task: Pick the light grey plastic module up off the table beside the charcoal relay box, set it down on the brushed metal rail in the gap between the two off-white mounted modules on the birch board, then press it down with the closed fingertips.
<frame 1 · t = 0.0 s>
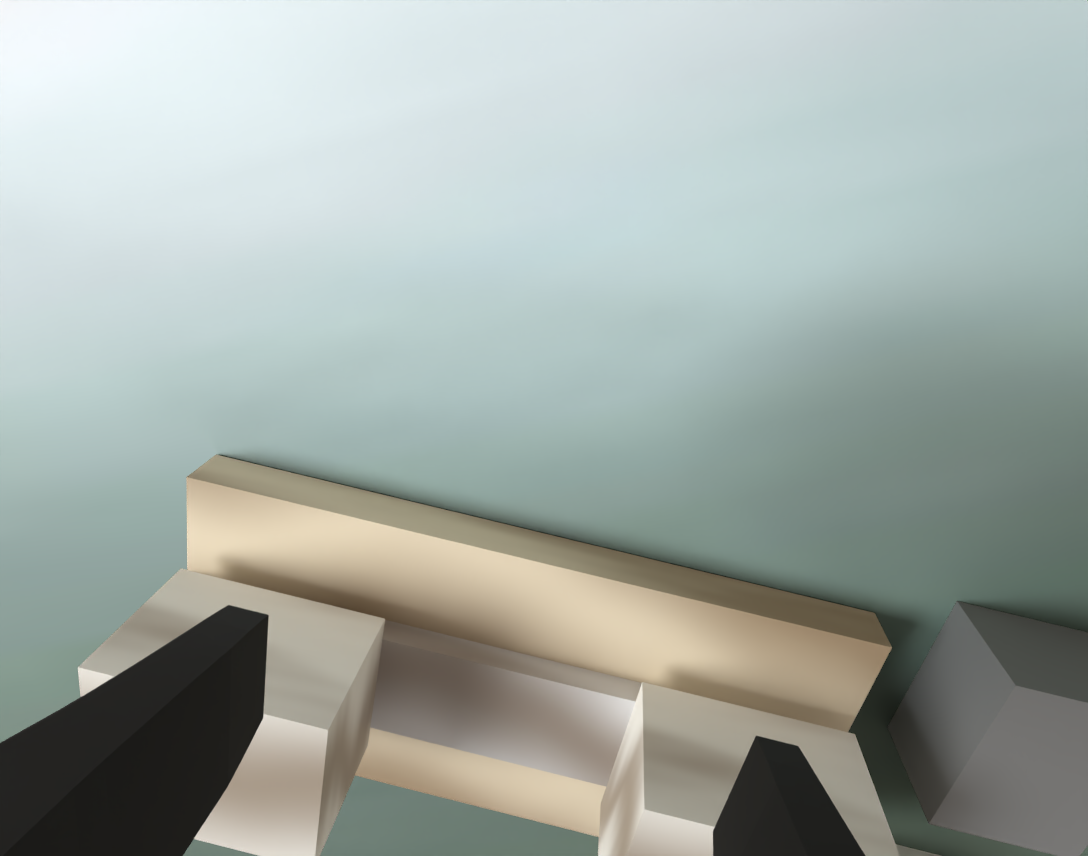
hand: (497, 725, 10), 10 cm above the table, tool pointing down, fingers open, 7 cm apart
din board: (510, 661, 23), on the table
relay box: (984, 679, 21), on the table
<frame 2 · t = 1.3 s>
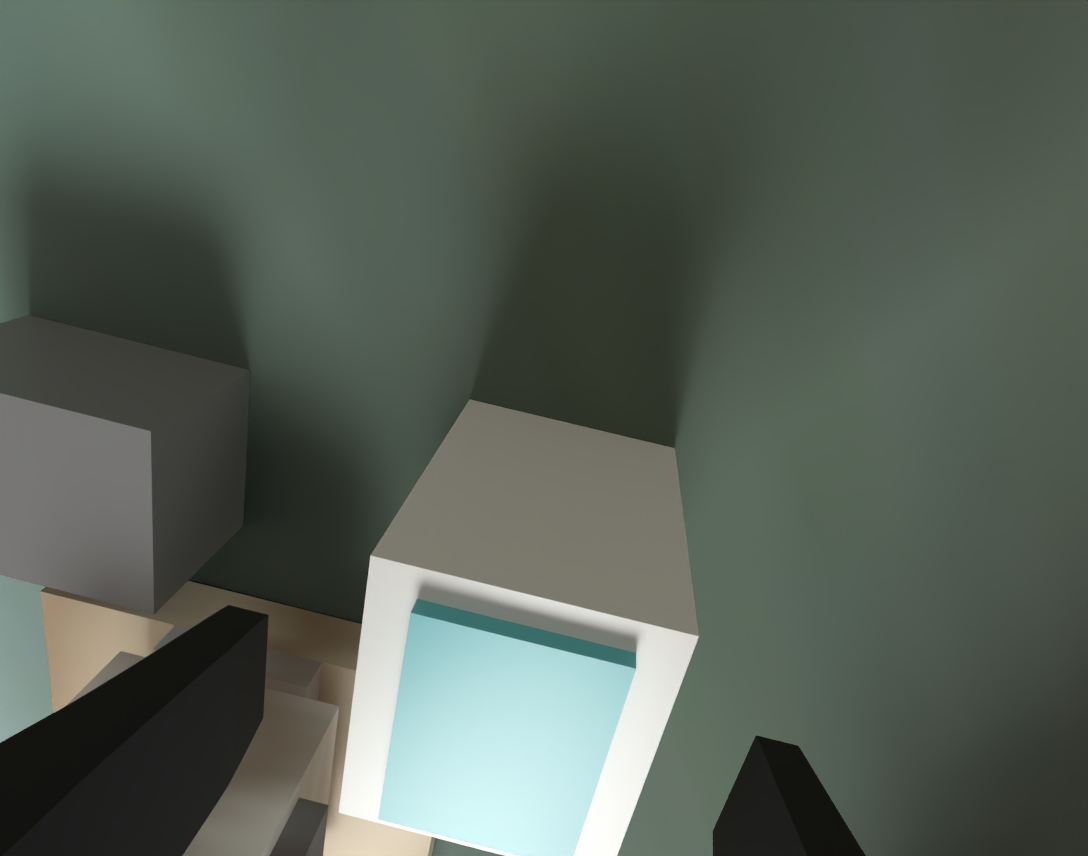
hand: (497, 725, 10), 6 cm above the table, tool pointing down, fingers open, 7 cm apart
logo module: (547, 523, 16), on the table
relay box: (145, 422, 16), on the table
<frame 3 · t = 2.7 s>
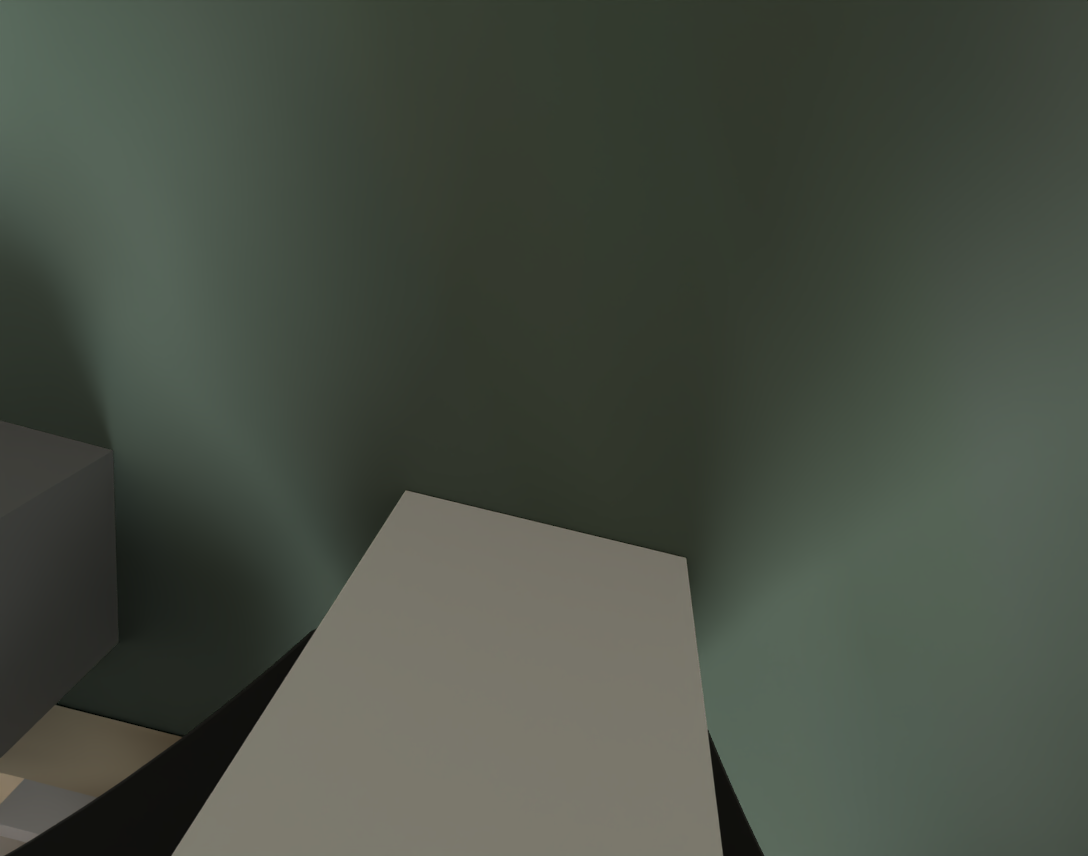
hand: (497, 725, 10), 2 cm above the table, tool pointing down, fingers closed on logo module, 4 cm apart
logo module: (514, 649, 12), on the table, touching gripper
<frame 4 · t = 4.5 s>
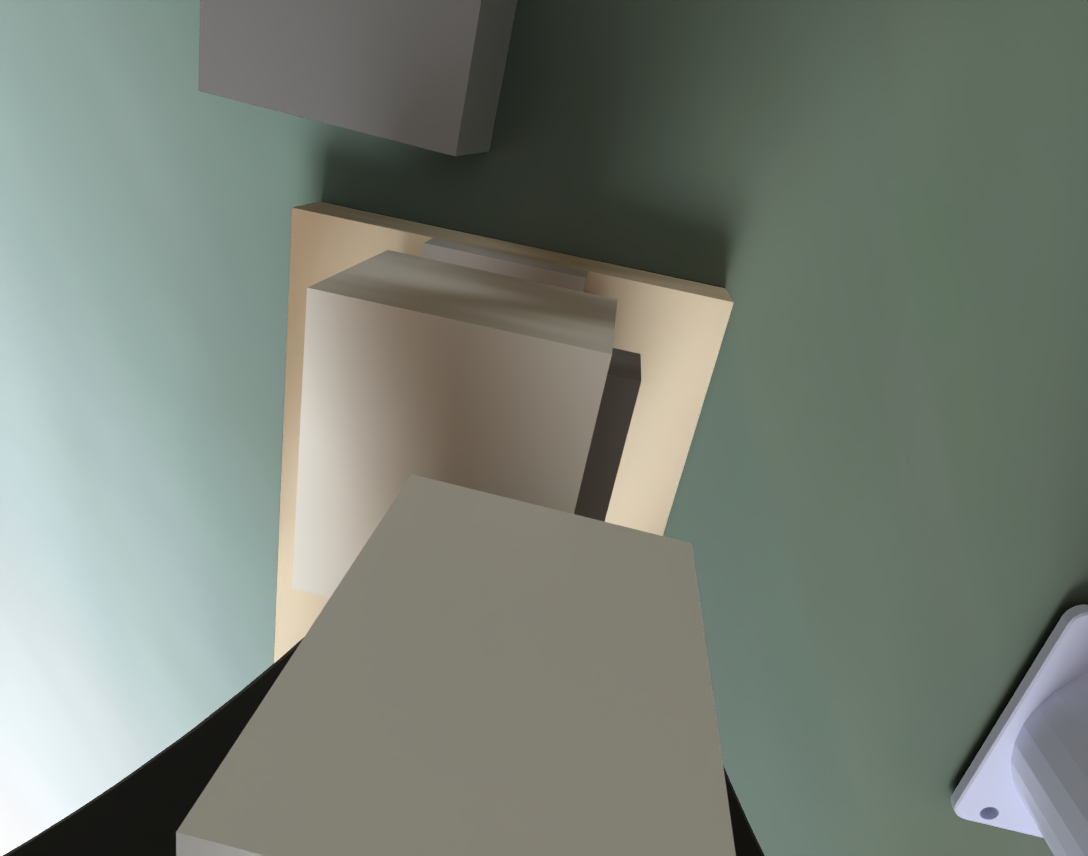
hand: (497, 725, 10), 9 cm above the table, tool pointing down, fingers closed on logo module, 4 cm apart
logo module: (519, 635, 12), point 8 cm above the table, touching gripper
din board: (462, 581, 21), on the table
relay box: (399, 29, 15), on the table
when the fingers open (5 cm above the table, at t = 6.6 s): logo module stays where it is, resting on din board.
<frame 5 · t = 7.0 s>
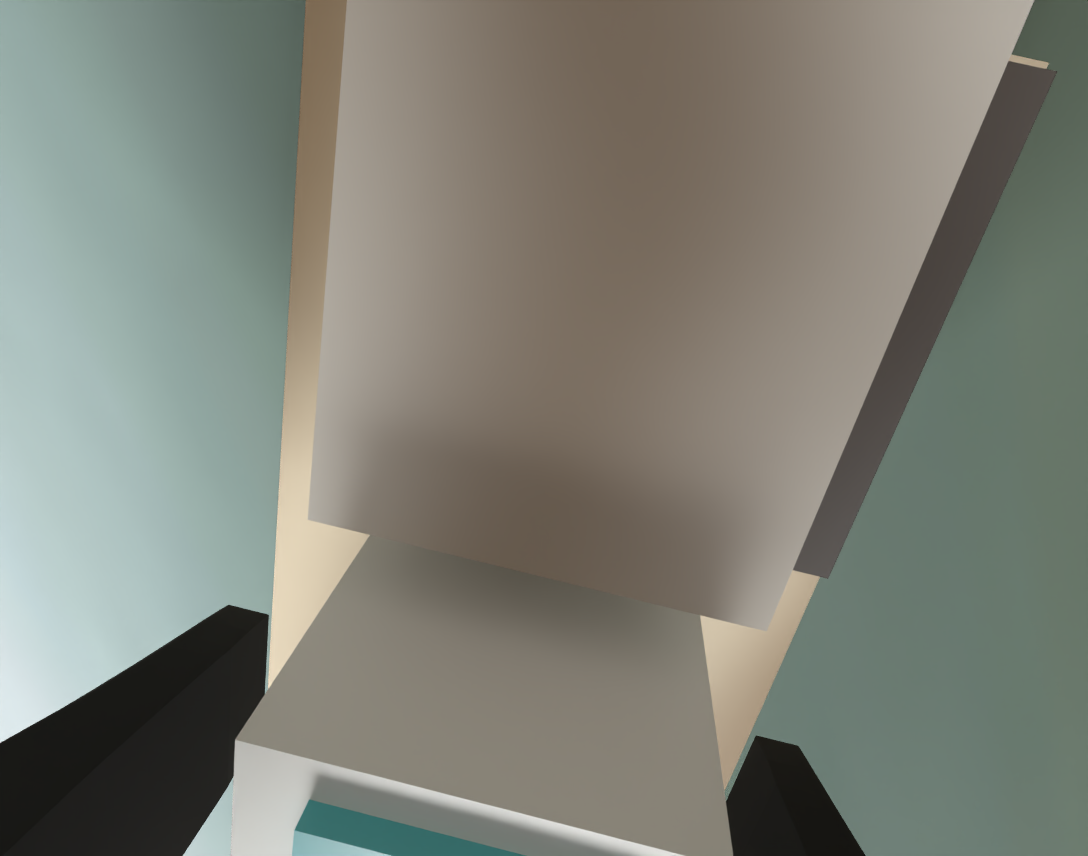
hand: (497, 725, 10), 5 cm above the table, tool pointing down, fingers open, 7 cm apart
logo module: (525, 602, 12), point 2 cm above the table, touching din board
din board: (539, 543, 15), on the table
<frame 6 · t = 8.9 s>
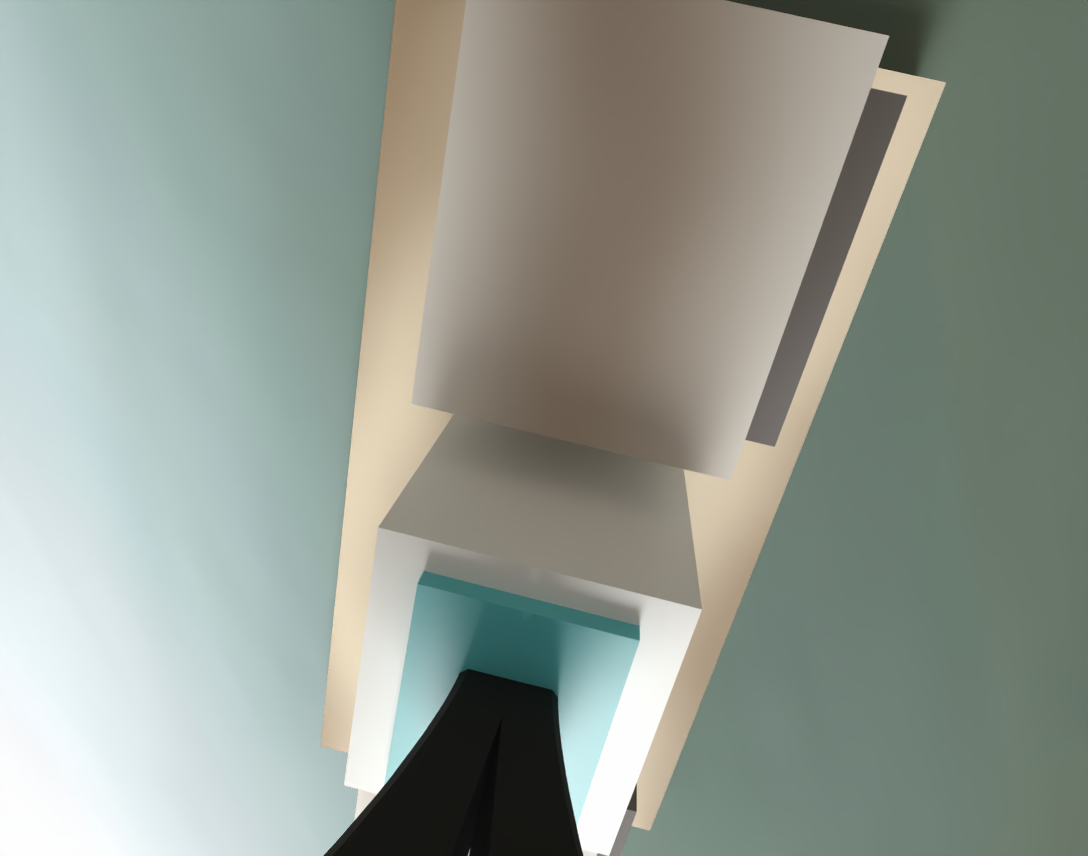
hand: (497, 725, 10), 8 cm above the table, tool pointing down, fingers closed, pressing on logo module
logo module: (551, 506, 16), point 2 cm above the table, touching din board, gripper
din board: (560, 470, 18), on the table
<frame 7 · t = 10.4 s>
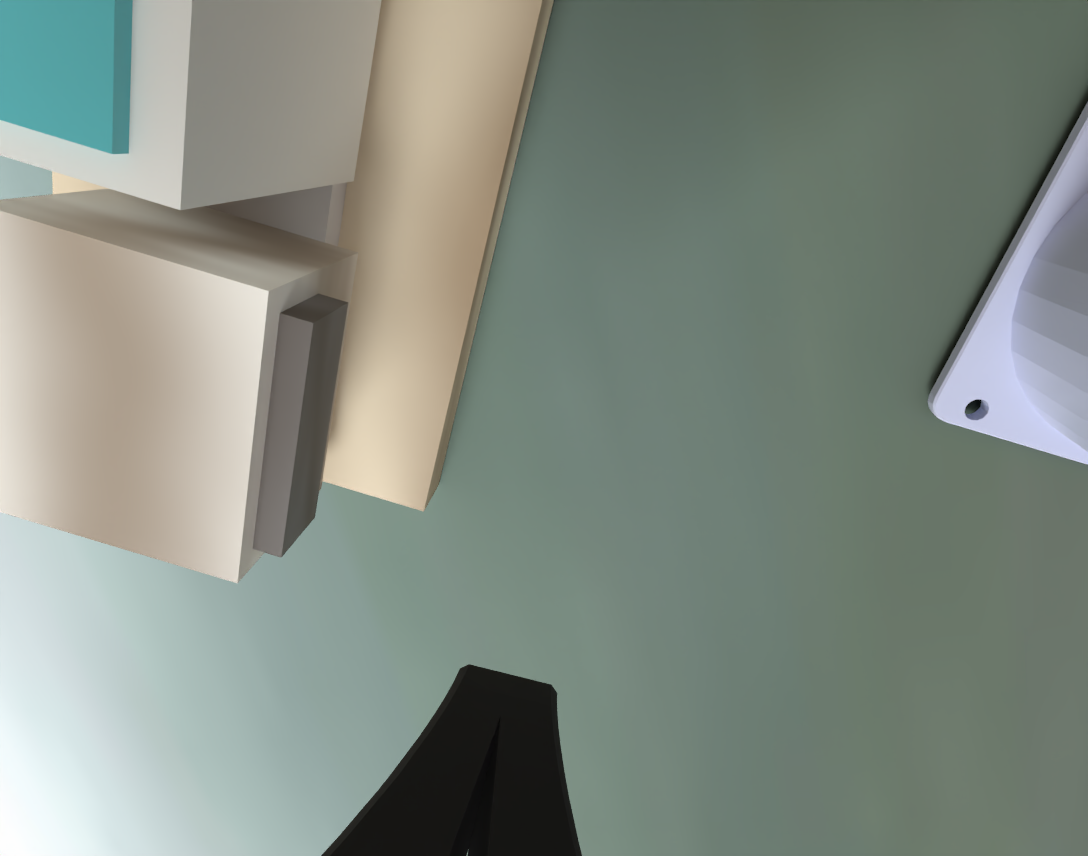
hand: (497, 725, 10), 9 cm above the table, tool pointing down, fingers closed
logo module: (264, 14, 13), point 2 cm above the table, touching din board
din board: (313, 42, 16), on the table
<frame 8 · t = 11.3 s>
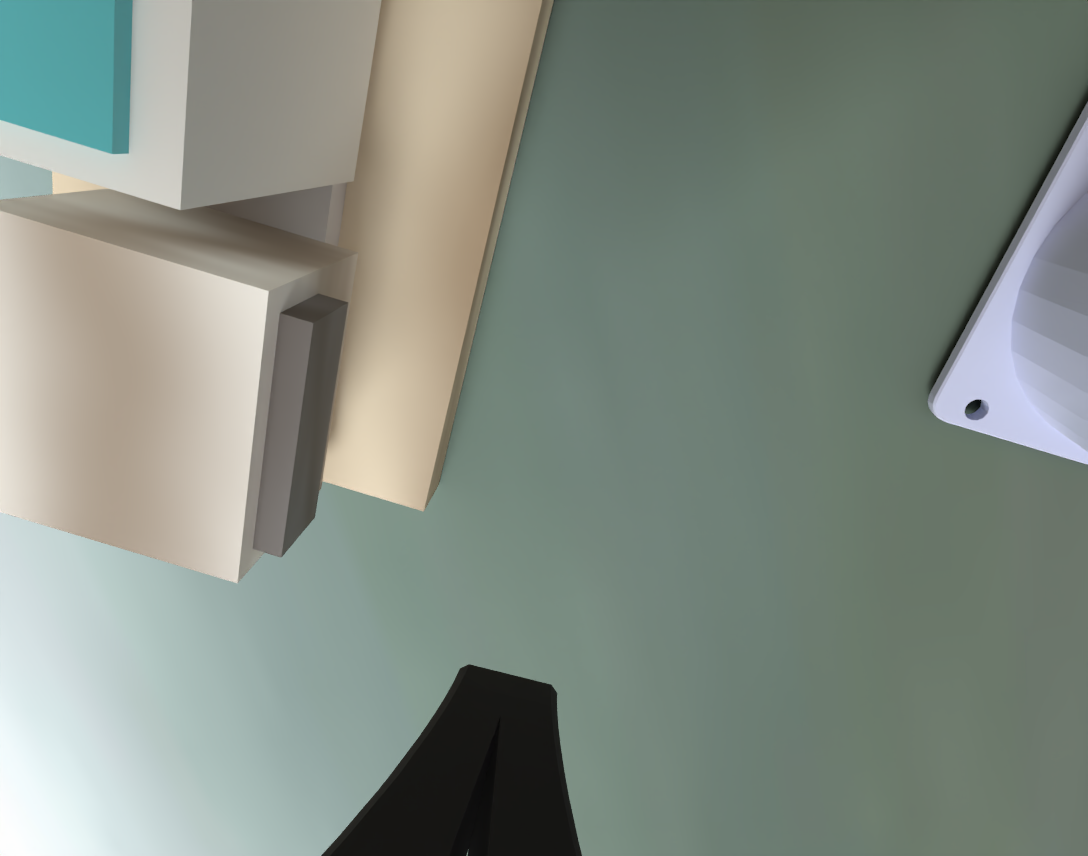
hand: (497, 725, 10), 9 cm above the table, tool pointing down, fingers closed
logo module: (264, 14, 13), point 2 cm above the table, touching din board
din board: (313, 42, 16), on the table
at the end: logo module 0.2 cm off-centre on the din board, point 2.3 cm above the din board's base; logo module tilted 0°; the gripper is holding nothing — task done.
